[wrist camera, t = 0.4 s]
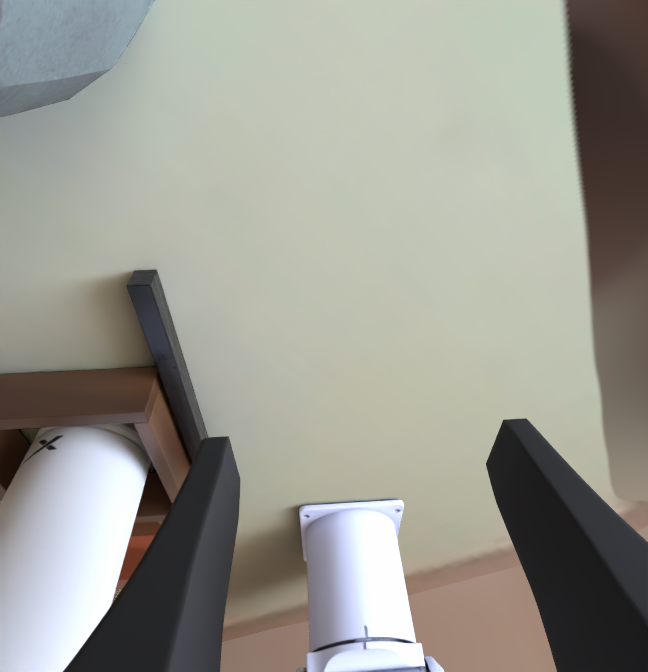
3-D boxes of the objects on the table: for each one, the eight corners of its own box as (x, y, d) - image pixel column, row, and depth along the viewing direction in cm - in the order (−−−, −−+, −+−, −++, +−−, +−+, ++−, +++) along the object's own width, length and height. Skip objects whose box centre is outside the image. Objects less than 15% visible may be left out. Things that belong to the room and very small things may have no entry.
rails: (227, 500, 32) (225, 516, 31) (53, 510, 32) (46, 527, 31) (157, 269, 19) (150, 284, 18) (-143, 281, 18) (-166, 297, 18)
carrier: (218, 528, 34) (211, 583, 31) (90, 536, 34) (70, 592, 31) (159, 366, 22) (139, 429, 19) (-40, 375, 22) (-92, 441, 19)
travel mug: (32, 390, 23) (-435, 1173, 8) (160, 408, 25) (-38, 1094, 10) (43, 455, 27) (-263, 1071, 12) (153, 467, 29) (3, 1027, 14)
